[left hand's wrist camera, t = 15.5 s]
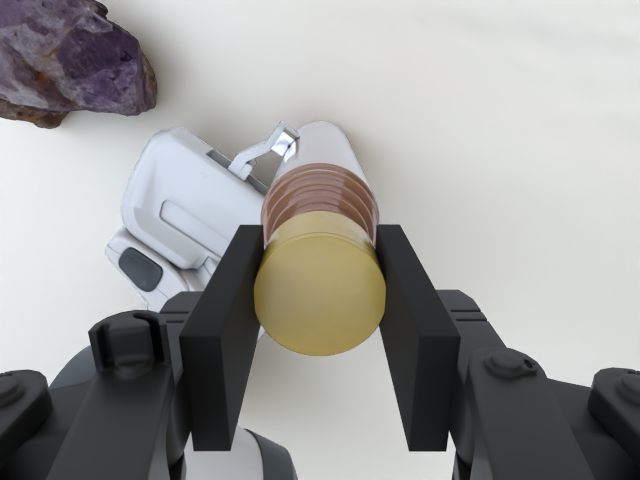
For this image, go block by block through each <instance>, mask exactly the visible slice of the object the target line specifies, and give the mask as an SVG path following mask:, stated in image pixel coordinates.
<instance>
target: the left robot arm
mask: <svg viewBox="0 0 640 480" xmlns="http://www.w3.org/2000/svg"><path fill="white" fill-rule="evenodd" d="M264 251H265V249H264V228H263V225H240V226H239V227H238V229H237V231H236V233H235V235H234V236H233V238H232V240H231V242H230V244H229V246H228V247H227V249H226V251H225V253H224V255H223V257H222V258H221V260H220V262H219V264H218V266H217V268H216V269H215V271H214V273H213V275H212V277H211V278H210V280H209V282H208V284H207V286H206V288H205V289H204V291H181V292H179V293H178V294H176V295H175V296H173V297H172V298H170V299H169V300H167V301H166V303H165V304H164V306H163V307H162V308H161V310H160V311H159V313H158V312H154V311H150V310H133V311H127V312H121V313H118V314H115V315H112V316H109V317H107V318H105V319H103V320H102V321H100V322H98V323H96V324H95V325H94V326H93V327H92V328H91V329H90V330H89V331H88V334H89V338H90V343H91V348H92V353H93V357H94V362H95V367H96V373H95V375H94V377H93V379H92V380H90V381H87V382H83V383H79V384H74V385H69V386H64V387H59V388H54V389H49V388H48V384H47V380H46V377H45V376H44V375H43V374H42V373H40V372H38V371H33V370H17V371H9V372H5V373H1V374H0V480H186V471H187V468H186V460H185V453H184V449H185V446H186V443H187V441H188V438H189V435H190V432H191V436H192V443H193V451H231V447H232V443H233V439H234V435H235V431H236V426H237V422H238V418H239V414H240V410H241V406H242V401H243V397H244V393H245V389H246V385H247V380H248V376H249V372H250V368H251V364H252V360H253V355H254V351H255V347H256V343H257V339H258V335H259V330H260V326H261V324H260V322H259V320H258V318H257V315H256V313H255V302H254V283H255V279H256V276H257V272H258V269H259V266H260V263H261V260H262V257H263V254H264ZM375 252H376V255H377V258H378V261H379V264H380V267H381V270H382V273H383V276H384V279H385V283H386V296H385V312H384V315H383V318H382V320H381V322H380V323H379V327H380V332H381V336H382V340H383V344H384V348H385V352H386V357H387V361H388V365H389V369H390V373H391V377H392V382H393V386H394V390H395V394H396V398H397V403H398V407H399V411H400V415H401V419H402V423H403V428H404V432H405V436H406V440H407V444H408V448H409V451H446V449H447V441H448V433H449V431H450V434H451V436H452V439H453V442H454V445H455V447H456V453H455V460H454V468H453V475H452V480H640V371H635V370H632V369H624V368H607V369H602V370H600V371H599V372H597V373H596V374H595V375H594V379H593V382H592V386H591V387H586V386H581V385H576V384H571V383H566V382H561V381H557V380H553V379H549V378H547V376H546V374H545V372H544V370H543V369H542V368H541V366H540V365H539V364H538V363H537V362H536V361H535V360H533V359H532V358H531V357H529V356H528V355H526V354H524V353H521V352H519V351H516V350H514V349H510V348H507V347H506V346H505V344H504V343H503V342H502V340H501V339H500V337H499V336H498V334H497V333H496V331H495V330H494V329H493V327H492V326H491V324H490V323H489V321H487V319H486V317H485V316H484V314H483V313H482V312H481V310H480V308H479V307H478V306H477V304H476V303H475V301H474V300H473V299H472V298H470V297H469V296H467V295H466V294H464V293H463V292H461V291H460V290H435V288H434V286H433V285H432V283H431V281H430V279H429V277H428V275H427V274H426V272H425V270H424V268H423V266H422V264H421V263H420V261H419V259H418V257H417V255H416V253H415V252H414V250H413V248H412V246H411V244H410V243H409V241H408V239H407V237H406V235H405V233H404V232H403V230H402V228H401V226H400V225H376V243H375Z"/></svg>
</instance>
